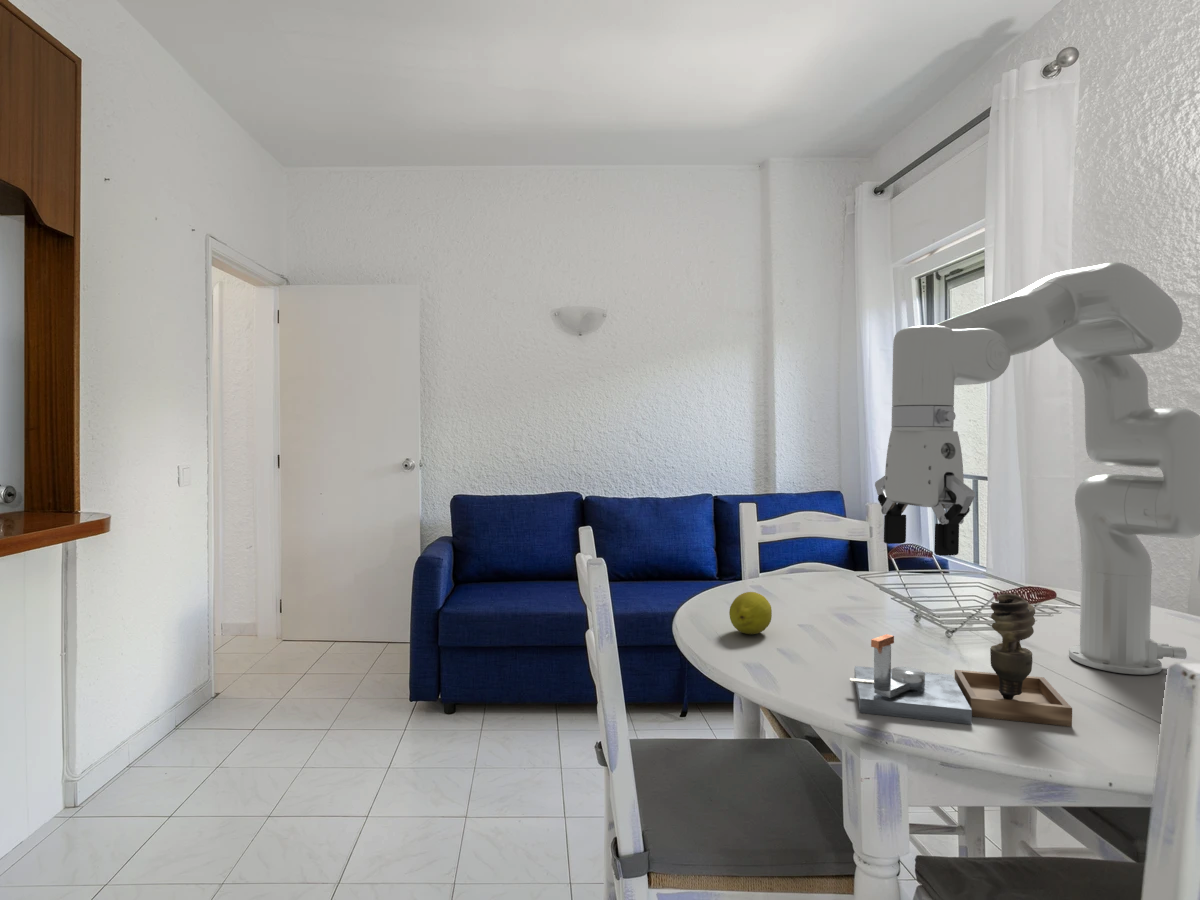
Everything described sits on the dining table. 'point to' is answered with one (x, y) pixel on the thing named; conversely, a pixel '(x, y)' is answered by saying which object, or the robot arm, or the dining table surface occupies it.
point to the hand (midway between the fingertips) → (919, 548)
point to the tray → (1014, 699)
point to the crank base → (915, 699)
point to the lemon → (750, 613)
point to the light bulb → (1012, 642)
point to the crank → (900, 675)
